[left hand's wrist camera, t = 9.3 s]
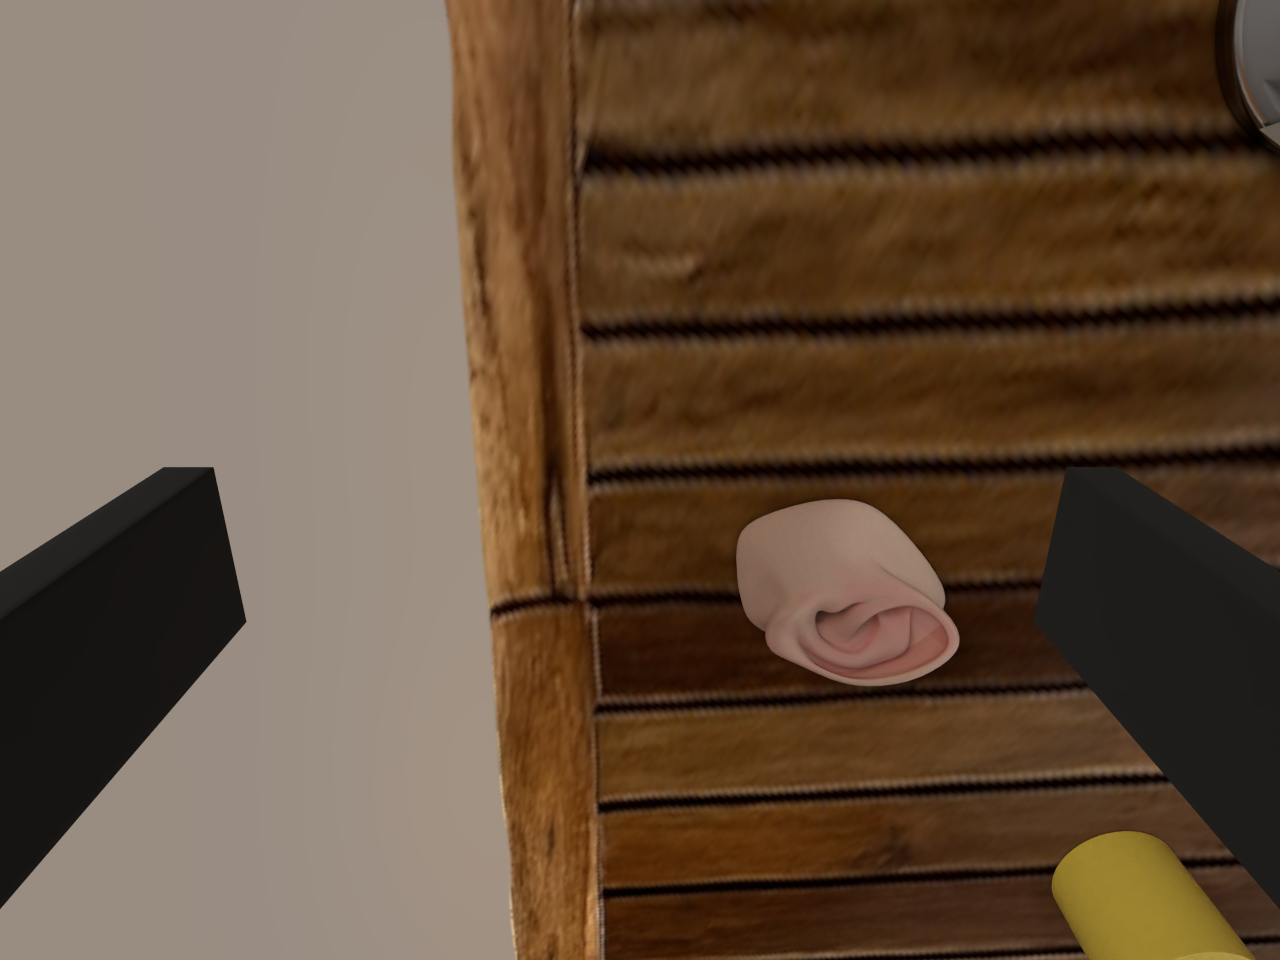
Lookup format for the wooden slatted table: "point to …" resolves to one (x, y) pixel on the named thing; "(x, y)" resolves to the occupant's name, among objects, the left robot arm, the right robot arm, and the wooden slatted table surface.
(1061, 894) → the yellow cylinder
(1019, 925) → the wooden slatted table surface
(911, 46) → the wooden slatted table surface
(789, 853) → the wooden slatted table surface
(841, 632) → the anatomical model
